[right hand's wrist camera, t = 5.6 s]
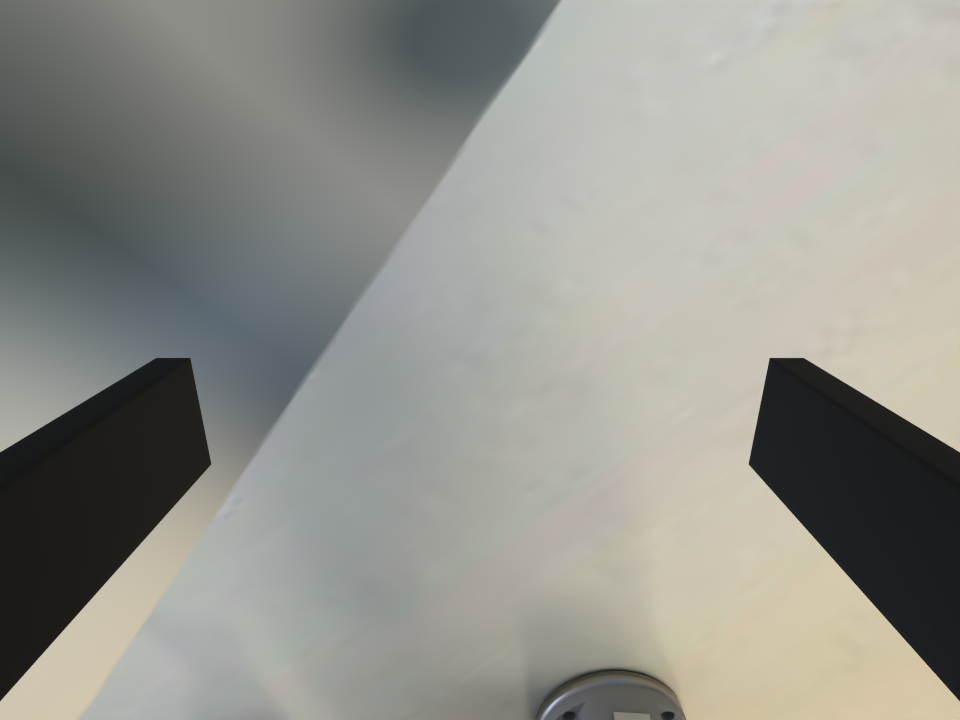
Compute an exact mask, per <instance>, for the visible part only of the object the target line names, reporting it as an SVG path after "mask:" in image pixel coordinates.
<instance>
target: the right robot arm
mask: <svg viewBox="0 0 960 720" xmlns="http://www.w3.org/2000/svg"><path fill="white" fill-rule="evenodd" d="M210 465H211V460H210V455H209V450H208V445H207V440H206V435H205V430H204V425H203V420H202V415H201V410H200V405H199V400H198V395H197V390H196V385H195V380H194V375H193V370H192V365H191V360H190V358H156V359H154V360H152V361H151V362H149V363H147V364H146V365H144V366H142V367H141V368H139V369H138V370H136V371H134V372H133V373H131V374H129V375H128V376H126V377H124V378H123V379H121V380H119V381H118V382H116V383H114V384H113V385H111V386H109V387H108V388H106V389H104V390H103V391H101V392H100V393H98V394H96V395H94V396H93V397H91V398H90V399H88V400H86V401H85V402H83V403H81V404H80V405H78V406H76V407H75V408H73V409H71V410H70V411H68V412H66V413H65V414H63V415H61V416H60V417H58V418H56V419H55V420H53V421H52V422H50V423H48V424H47V425H45V426H43V427H42V428H40V429H38V430H37V431H35V432H33V433H32V434H30V435H28V436H27V437H25V438H23V439H22V440H20V441H18V442H17V443H15V444H14V445H12V446H10V447H8V448H7V449H5V450H4V451H2V452H0V701H1V700H2V699H3V697H4V696H5V695H6V694H7V693H8V692H9V691H10V690H11V688H12V687H13V686H14V685H15V684H16V683H17V682H18V681H19V679H20V678H21V677H22V676H23V675H24V674H25V673H26V672H27V671H28V669H29V668H30V667H31V666H32V665H33V664H34V663H35V661H36V660H37V659H38V658H39V657H40V656H41V655H42V654H43V652H44V651H45V650H46V649H47V648H48V647H49V646H50V645H51V643H52V642H53V641H54V640H55V639H56V638H57V637H58V636H59V635H60V633H61V632H62V631H63V630H64V629H65V628H66V627H67V626H68V624H69V623H70V622H71V621H72V620H73V619H74V618H75V617H76V615H77V614H78V613H79V612H80V611H81V610H82V609H83V608H84V606H85V605H86V604H87V603H88V602H89V601H90V600H91V599H92V597H93V596H94V595H95V594H96V593H97V592H98V591H99V590H100V589H101V587H102V586H103V585H104V584H105V583H106V582H107V581H108V579H109V578H110V577H111V576H112V575H113V574H114V573H115V572H116V571H117V569H118V568H119V567H120V566H121V565H122V564H123V563H124V562H125V560H126V559H127V558H128V557H129V556H130V555H131V554H132V553H133V552H134V550H135V549H136V548H137V547H138V546H139V545H140V544H141V542H142V541H143V540H144V539H145V538H146V537H147V536H148V535H149V534H150V532H151V531H152V530H153V529H154V528H155V527H156V526H157V525H158V523H159V522H160V521H161V520H162V519H163V518H164V517H165V515H166V514H167V513H168V512H169V511H170V510H171V509H172V508H173V507H174V505H175V504H176V503H177V502H178V501H179V500H180V499H181V498H182V496H183V495H184V494H185V493H186V492H187V491H188V490H189V489H190V487H191V486H192V485H193V484H194V483H195V482H196V481H197V480H198V478H199V477H200V476H201V475H202V474H203V473H204V472H205V471H206V470H207V468H208V467H209V466H210ZM749 465H750V466H751V467H752V468H753V470H754V471H755V472H756V473H757V474H758V475H759V476H760V477H761V479H762V480H763V481H764V482H765V483H766V484H767V485H768V486H769V488H770V489H771V490H772V491H773V492H774V493H775V494H776V495H777V496H778V498H779V499H780V500H781V501H782V502H783V503H784V504H785V505H786V507H787V508H788V509H789V510H790V511H791V512H792V513H793V514H794V516H795V517H796V518H797V519H798V520H799V521H800V522H801V523H802V525H803V526H804V527H805V528H806V529H807V530H808V531H809V532H810V534H811V535H812V536H813V537H814V538H815V539H816V540H817V541H818V543H819V544H820V545H821V546H822V547H823V548H824V549H825V550H826V552H827V553H828V554H829V555H830V556H831V557H832V558H833V559H834V560H835V562H836V563H837V564H838V565H839V566H840V567H841V568H842V569H843V571H844V572H845V573H846V574H847V575H848V576H849V577H850V578H851V580H852V581H853V582H854V583H855V584H856V585H857V586H858V587H859V589H860V590H861V591H862V592H863V593H864V594H865V595H866V596H867V598H868V599H869V600H870V601H871V602H872V603H873V604H874V605H875V607H876V608H877V609H878V610H879V611H880V612H881V613H882V614H883V615H884V617H885V618H886V619H887V620H888V621H889V622H890V623H891V624H892V626H893V627H894V628H895V629H896V630H897V631H898V632H899V633H900V635H901V636H902V637H903V638H904V639H905V640H906V641H907V642H908V644H909V645H910V646H911V647H912V648H913V649H914V650H915V651H916V653H917V654H918V655H919V656H920V657H921V658H922V659H923V660H924V662H925V663H926V664H927V665H928V666H929V667H930V668H931V669H932V671H933V672H934V673H935V674H936V675H937V676H938V677H939V678H940V679H941V681H942V682H943V683H944V684H945V685H946V686H947V687H948V688H949V690H950V691H951V692H952V693H953V694H954V695H955V696H956V697H957V699H958V700H959V701H960V452H958V451H957V450H955V449H953V448H952V447H950V446H948V445H947V444H945V443H943V442H942V441H940V440H938V439H937V438H935V437H933V436H932V435H930V434H928V433H927V432H925V431H923V430H922V429H920V428H918V427H917V426H915V425H913V424H912V423H910V422H909V421H907V420H905V419H904V418H902V417H900V416H899V415H897V414H895V413H894V412H892V411H890V410H889V409H887V408H885V407H884V406H882V405H880V404H879V403H877V402H875V401H874V400H872V399H870V398H869V397H867V396H866V395H864V394H862V393H861V392H859V391H857V390H856V389H854V388H852V387H851V386H849V385H847V384H846V383H844V382H842V381H841V380H839V379H837V378H836V377H834V376H832V375H831V374H829V373H827V372H826V371H824V370H822V369H821V368H819V367H818V366H816V365H814V364H813V363H811V362H809V361H808V360H806V359H804V358H770V360H769V365H768V370H767V375H766V380H765V385H764V390H763V395H762V400H761V405H760V410H759V415H758V420H757V425H756V430H755V435H754V440H753V445H752V450H751V455H750V460H749ZM536 720H686V718H685V716H684V713H683V710H682V707H681V705H680V703H679V701H678V699H677V697H676V696H675V695H674V694H673V692H672V691H671V690H670V689H669V688H667V687H666V686H665V685H663V684H662V683H660V682H659V681H657V680H655V679H653V678H651V677H648V676H645V675H642V674H638V673H633V672H626V671H604V672H597V673H592V674H588V675H584V676H581V677H578V678H576V679H574V680H571V681H569V682H567V683H566V684H564V685H562V686H561V687H559V688H558V689H557V690H555V691H554V692H553V693H552V694H551V695H550V696H549V697H548V698H547V699H546V700H545V701H544V703H543V704H542V706H541V708H540V709H539V712H538V714H537V717H536Z"/></svg>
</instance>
